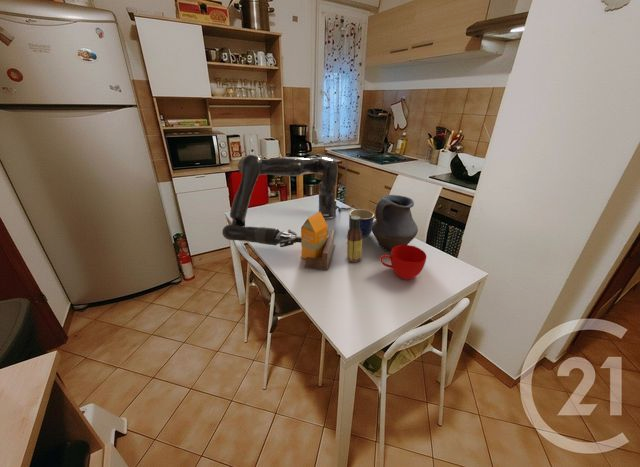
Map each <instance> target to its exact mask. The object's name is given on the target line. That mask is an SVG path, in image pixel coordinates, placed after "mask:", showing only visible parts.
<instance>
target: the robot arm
mask: <svg viewBox="0 0 640 467" xmlns="http://www.w3.org/2000/svg"><path fill="white" fill-rule="evenodd" d="M237 169H238V171H239V172H240V174H241V180H240V183H239V186H238V190H237V191H236V193H235V195H234V197H233V201H232V205H231V209H230V212H229V217H230V219H231V223H230V224H226V225H225V226H224V227H223V228H222V232H221V234H222V236H223V238H225V240H228V241H240V242H241V241H243V242H249V243H255V244H261V245H267V246H278V245H279V248H285V247H289V246H293V245H294V244H296V243H300V244H301V236H298V233H297V232H295V231H293V230H292V229H290V228H289V229H287V231H280V229H279V228H274V227H265V226H261V227H260V226H246V217H247V214H248V210H249V205H250V201H251V198H252V195H253V192H254V188H255V186H256V183H257V181H258V178H259V176H263V175H271V176H278V177H279V176H280V177H298V176H302V175H303V176H304V175H305V174H319V175H322V181H320V182H318V212H320V211H321V214H322V216H323V218H324V219H325V220H332V219H334V218H335V217H337V210H338V212H341V210H351V209H352V208H354V207H355V205H354V204H351V205H350V207H351V208H350V207H339V206H338V205H337V201H336V185H337V183H338V175H339V166H338V163H337V162H336V160H333V159H331V158H328V157H318V158H317V157H316V158H304V157H297V156H282V157H274V158H273V157H272V158H260V157H259V156H257V155H255V154H248V155H246V156H243V157H241V158H240V159H239V161H238V163H237Z"/></svg>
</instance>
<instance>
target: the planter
mask: <svg viewBox="0 0 640 467" xmlns="http://www.w3.org/2000/svg"><path fill="white" fill-rule="evenodd" d="M348 213H349V214H348V217H349V218H348V229H349V228H350V226H351V220H350V218H351V216H359V217H360V218H361V220H360V229H361V232H362V238H363V237H368V236H369V235H370V234H372V229H371V227H372V224H373V222H374V221H375V212H373V211H371V210H369V209H364V208H358V209H352V210H351V211H350V212H348Z"/></svg>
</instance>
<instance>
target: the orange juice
mask: <svg viewBox="0 0 640 467" xmlns="http://www.w3.org/2000/svg"><path fill="white" fill-rule="evenodd" d="M328 226H329V225H328V224H327V222H326V219H324V218H323V216H322V214H321V211H320V212H319V211H318V212H317V213H314V214H313V215H311V216H309V217H308V218H307V219H306V220H305V222H304V223H303V224H302V226H301V227H300V234H301V235H300V237H301V243H300V245H301V258H302V259H305V260H306V257H312V258H321V259H323V250H324V248H325V245H326V242H327V239H328V235H329V234H328V231H329V228H328Z"/></svg>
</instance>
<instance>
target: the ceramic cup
mask: <svg viewBox="0 0 640 467" xmlns="http://www.w3.org/2000/svg"><path fill="white" fill-rule="evenodd" d="M427 257H428V256H427V254H426V252H425V251H424V250H423V249H421V248H419V247H417V246H414V245H410V244H408V245H398V246H395V247H394V248H393V249H392V251H390V255H389V254H382V255H381V256H380V259H379V260H380V263H381V264H382V265H383V266H384V267H387V268H390V269H392V271H393V272H394V274H396V276H397V277H398V278H400V279H402V280H412V279H413V278H415V277H417V276H418V275H419V274H420V273H421V272H422V271H423V269H424V267H425V264H426V262H427ZM384 258H388V259H389V260H390V264H387V263H386V262H384V261H383V260H384Z"/></svg>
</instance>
